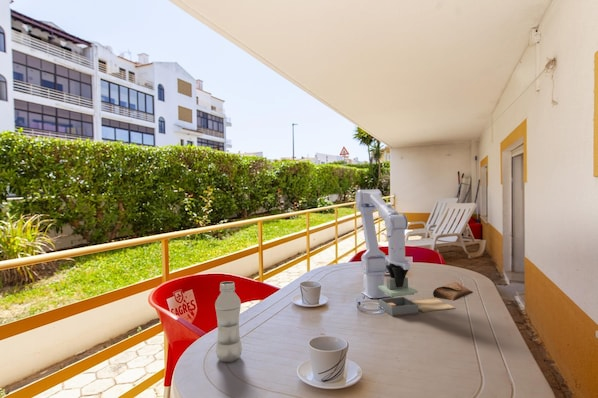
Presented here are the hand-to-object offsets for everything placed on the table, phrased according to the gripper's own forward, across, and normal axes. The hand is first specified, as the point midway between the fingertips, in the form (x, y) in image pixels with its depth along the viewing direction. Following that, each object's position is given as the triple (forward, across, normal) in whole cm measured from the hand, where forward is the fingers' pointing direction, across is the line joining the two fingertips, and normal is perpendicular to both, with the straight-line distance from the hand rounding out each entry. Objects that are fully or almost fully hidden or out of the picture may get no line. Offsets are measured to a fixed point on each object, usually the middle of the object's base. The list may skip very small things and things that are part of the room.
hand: (397, 285), depth 126 cm
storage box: (+9, 0, 0) cm, 9 cm away
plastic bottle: (+9, -22, +60) cm, 65 cm away
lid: (+2, 0, 0) cm, 2 cm away
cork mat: (+9, +2, -14) cm, 16 cm away
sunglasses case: (+10, +11, -31) cm, 34 cm away
